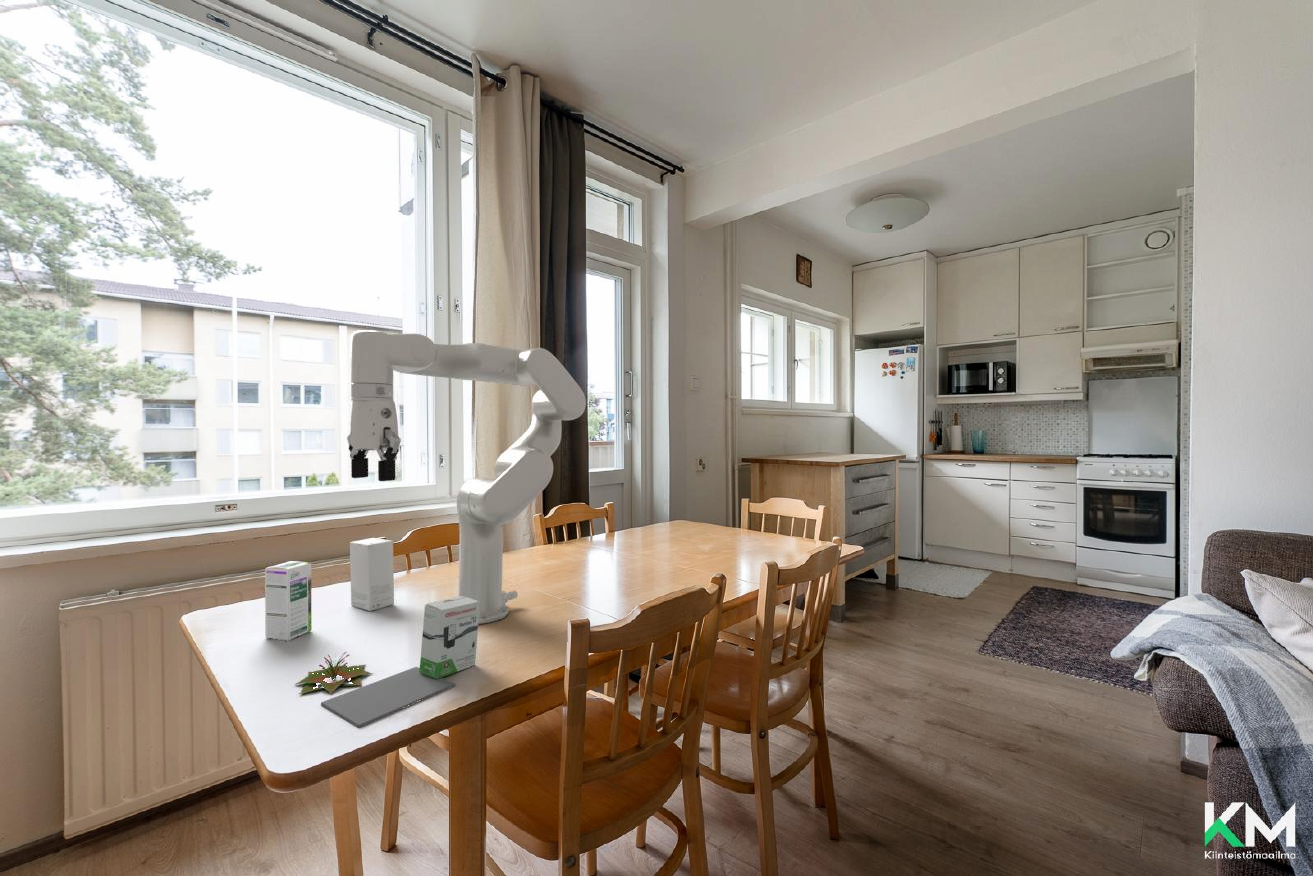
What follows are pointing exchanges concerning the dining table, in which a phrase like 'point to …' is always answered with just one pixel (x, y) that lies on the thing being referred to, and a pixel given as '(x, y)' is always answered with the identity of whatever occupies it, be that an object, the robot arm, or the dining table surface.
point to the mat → (385, 696)
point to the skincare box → (372, 573)
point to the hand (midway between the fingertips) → (373, 479)
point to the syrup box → (288, 600)
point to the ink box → (449, 636)
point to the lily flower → (333, 676)
